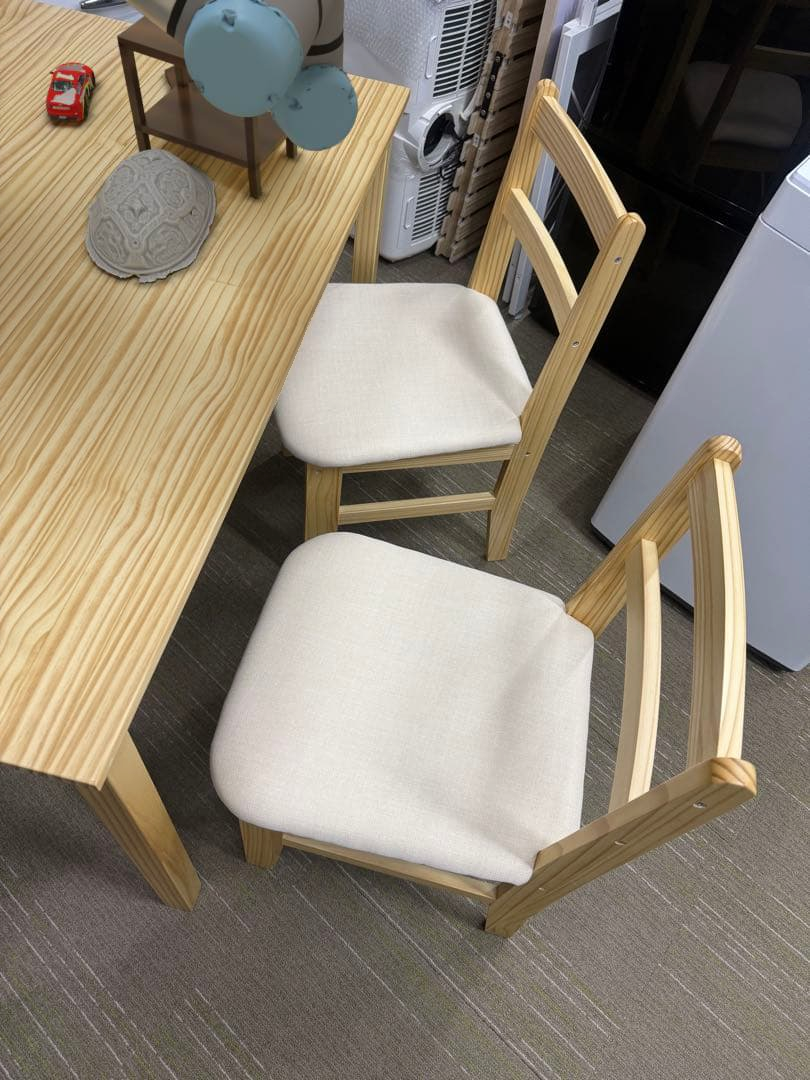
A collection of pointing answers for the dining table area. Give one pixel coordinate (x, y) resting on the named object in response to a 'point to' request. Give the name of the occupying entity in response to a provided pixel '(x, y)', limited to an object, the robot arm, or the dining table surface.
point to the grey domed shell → (150, 216)
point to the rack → (194, 110)
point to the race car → (70, 92)
